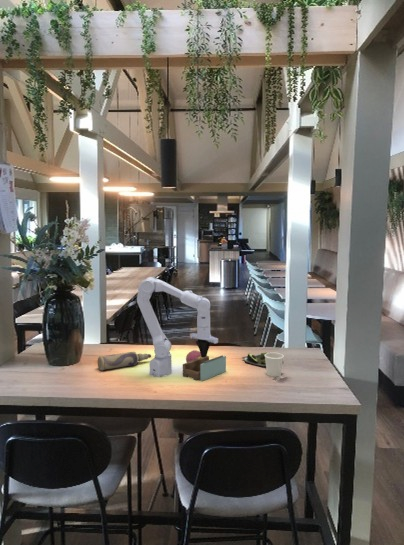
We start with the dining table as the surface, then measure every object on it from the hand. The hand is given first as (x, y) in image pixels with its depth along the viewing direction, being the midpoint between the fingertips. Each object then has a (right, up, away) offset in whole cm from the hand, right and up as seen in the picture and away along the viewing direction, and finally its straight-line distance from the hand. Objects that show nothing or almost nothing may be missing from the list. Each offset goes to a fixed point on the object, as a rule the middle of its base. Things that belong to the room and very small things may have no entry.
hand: (203, 356), depth 191 cm
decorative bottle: (-37, -8, +15) cm, 41 cm away
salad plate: (+28, -7, +21) cm, 36 cm away
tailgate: (+4, -8, -3) cm, 9 cm away
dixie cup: (+30, -9, -1) cm, 32 cm away
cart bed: (0, -9, +1) cm, 9 cm away
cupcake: (-5, -5, +16) cm, 17 cm away
